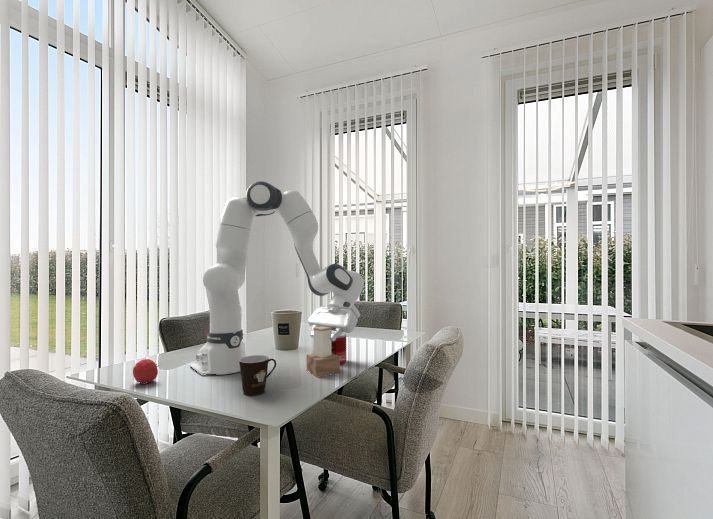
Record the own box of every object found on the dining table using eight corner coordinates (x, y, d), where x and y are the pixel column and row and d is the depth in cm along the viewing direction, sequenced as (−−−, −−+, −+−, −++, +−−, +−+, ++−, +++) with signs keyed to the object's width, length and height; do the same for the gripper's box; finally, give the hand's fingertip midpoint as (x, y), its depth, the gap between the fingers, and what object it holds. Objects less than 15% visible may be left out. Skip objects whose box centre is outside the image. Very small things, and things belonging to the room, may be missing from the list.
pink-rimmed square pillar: (313, 355, 128) (313, 327, 128) (322, 353, 131) (322, 325, 131) (322, 357, 125) (322, 329, 125) (331, 355, 128) (331, 327, 128)
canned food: (347, 359, 143) (347, 332, 143) (345, 365, 135) (344, 336, 135) (328, 359, 144) (328, 332, 144) (325, 365, 136) (324, 336, 136)
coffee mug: (240, 399, 102) (240, 364, 102) (237, 389, 110) (237, 357, 110) (281, 393, 107) (281, 359, 107) (275, 384, 115) (275, 353, 115)
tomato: (132, 359, 114) (156, 350, 120) (126, 371, 118) (150, 361, 124) (143, 381, 112) (167, 370, 118) (137, 391, 116) (160, 380, 122)
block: (306, 371, 129) (306, 354, 130) (329, 367, 134) (329, 351, 134) (316, 377, 122) (315, 360, 122) (339, 373, 126) (339, 356, 126)
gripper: (315, 301, 140) (297, 330, 132) (356, 304, 127) (338, 336, 120) (323, 311, 143) (305, 340, 136) (364, 315, 131) (347, 347, 123)
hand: (321, 338), depth 127 cm, fingers open, 8 cm apart
